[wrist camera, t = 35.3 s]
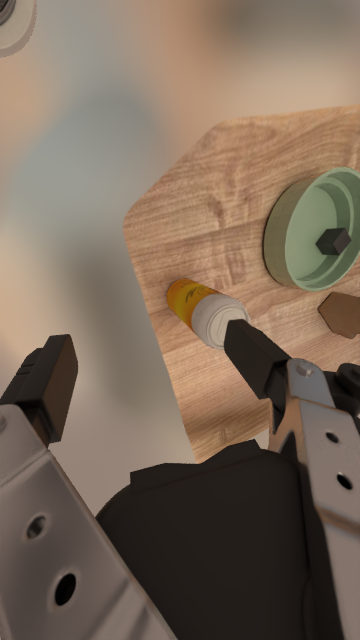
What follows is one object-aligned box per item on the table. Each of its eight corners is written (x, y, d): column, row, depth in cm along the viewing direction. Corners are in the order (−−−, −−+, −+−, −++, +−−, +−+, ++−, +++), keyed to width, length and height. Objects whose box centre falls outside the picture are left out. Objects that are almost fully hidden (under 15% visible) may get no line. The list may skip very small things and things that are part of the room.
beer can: (203, 284, 35) (261, 308, 21) (191, 315, 36) (239, 356, 23) (172, 273, 32) (217, 293, 19) (160, 307, 34) (195, 348, 20)
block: (315, 243, 39) (332, 243, 36) (326, 228, 39) (345, 227, 36) (322, 254, 41) (339, 255, 38) (333, 240, 40) (351, 240, 37)
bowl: (244, 229, 34) (267, 227, 29) (324, 151, 34) (360, 135, 29) (285, 304, 43) (307, 311, 38) (348, 242, 43) (379, 242, 38)
